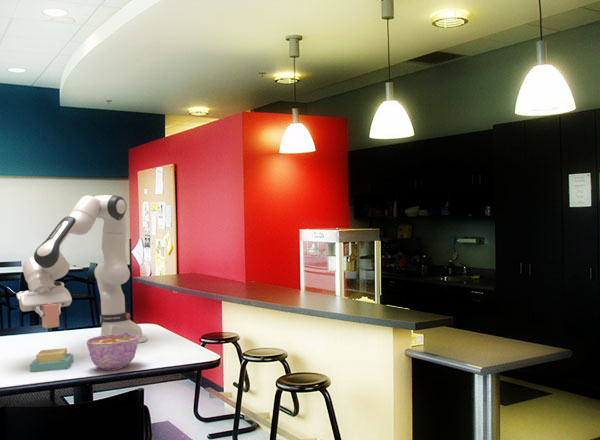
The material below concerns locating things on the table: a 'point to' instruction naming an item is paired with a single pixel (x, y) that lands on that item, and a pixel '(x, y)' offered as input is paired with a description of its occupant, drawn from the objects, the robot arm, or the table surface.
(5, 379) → the table surface
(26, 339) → the table surface
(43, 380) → the table surface
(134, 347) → the bowl of food
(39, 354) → the stepped square block
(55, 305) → the tall brick
